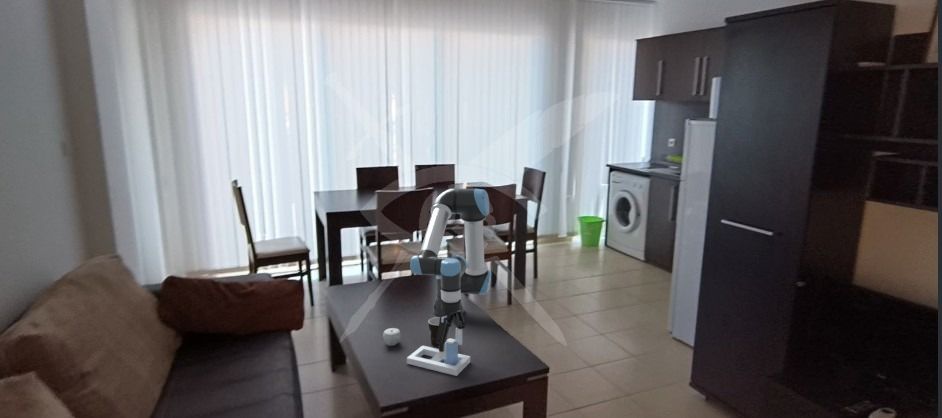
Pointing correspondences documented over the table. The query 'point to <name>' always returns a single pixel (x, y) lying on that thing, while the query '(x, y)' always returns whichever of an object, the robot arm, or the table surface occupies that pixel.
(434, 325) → the coffee mug
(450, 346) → the plug
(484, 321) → the table surface
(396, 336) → the apple
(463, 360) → the panel
